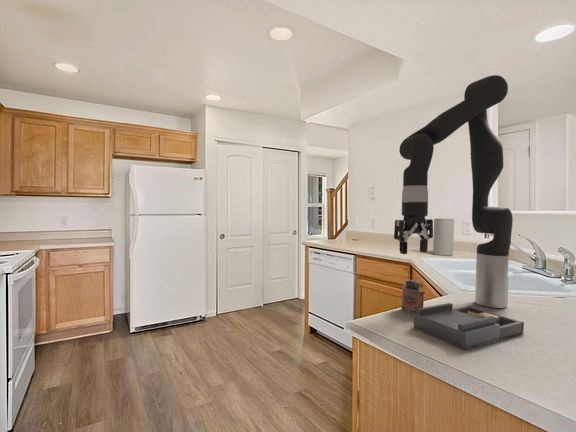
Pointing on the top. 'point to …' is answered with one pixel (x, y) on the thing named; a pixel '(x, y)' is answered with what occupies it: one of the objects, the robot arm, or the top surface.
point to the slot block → (456, 326)
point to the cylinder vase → (443, 237)
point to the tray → (500, 323)
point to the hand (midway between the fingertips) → (413, 252)
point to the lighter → (412, 297)
